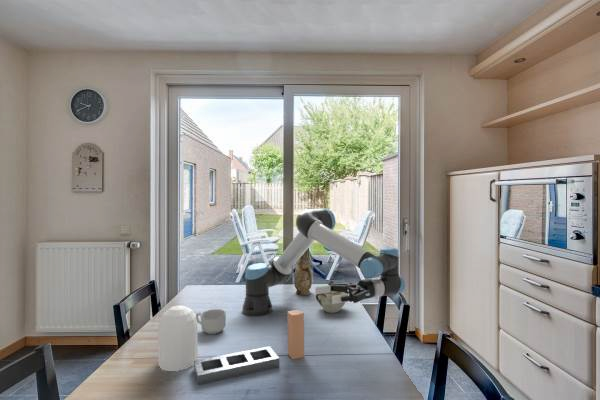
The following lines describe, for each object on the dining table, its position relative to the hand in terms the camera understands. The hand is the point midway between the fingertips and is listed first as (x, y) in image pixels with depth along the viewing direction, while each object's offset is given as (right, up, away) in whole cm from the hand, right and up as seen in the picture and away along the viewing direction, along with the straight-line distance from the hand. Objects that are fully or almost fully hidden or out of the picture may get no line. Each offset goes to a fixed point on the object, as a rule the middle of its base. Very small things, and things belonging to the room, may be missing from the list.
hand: (323, 295), depth 132 cm
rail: (-31, -22, -13) cm, 40 cm away
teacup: (-48, -21, +20) cm, 56 cm away
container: (-52, -22, -8) cm, 57 cm away
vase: (-7, -20, +76) cm, 79 cm away
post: (-10, -21, -4) cm, 24 cm away
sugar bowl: (+7, -20, +45) cm, 50 cm away
